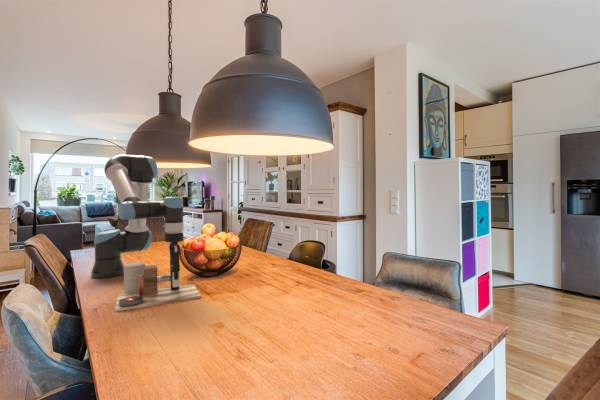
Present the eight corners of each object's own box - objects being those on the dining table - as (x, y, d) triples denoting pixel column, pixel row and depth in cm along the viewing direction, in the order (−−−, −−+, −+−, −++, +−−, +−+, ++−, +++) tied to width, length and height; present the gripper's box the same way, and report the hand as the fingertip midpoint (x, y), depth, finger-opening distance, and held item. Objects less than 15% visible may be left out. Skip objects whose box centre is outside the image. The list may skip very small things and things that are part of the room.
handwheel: (135, 296, 122) (135, 273, 122) (151, 298, 120) (151, 275, 120) (113, 305, 113) (113, 280, 113) (130, 307, 110) (129, 282, 110)
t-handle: (140, 292, 128) (139, 268, 128) (179, 286, 135) (178, 264, 135) (140, 294, 125) (139, 270, 124) (179, 289, 132) (179, 265, 132)
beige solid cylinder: (120, 292, 132) (119, 265, 131) (137, 287, 139) (137, 261, 139) (132, 295, 128) (131, 267, 128) (149, 290, 135) (148, 263, 135)
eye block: (118, 296, 126) (117, 268, 126) (194, 286, 140) (193, 260, 140) (115, 311, 110) (114, 278, 110) (200, 298, 124) (200, 268, 124)
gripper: (163, 230, 140) (163, 279, 140) (166, 235, 121) (167, 292, 121) (180, 229, 143) (181, 276, 144) (186, 234, 124) (187, 289, 125)
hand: (174, 283), depth 132 cm, fingers open, 9 cm apart
